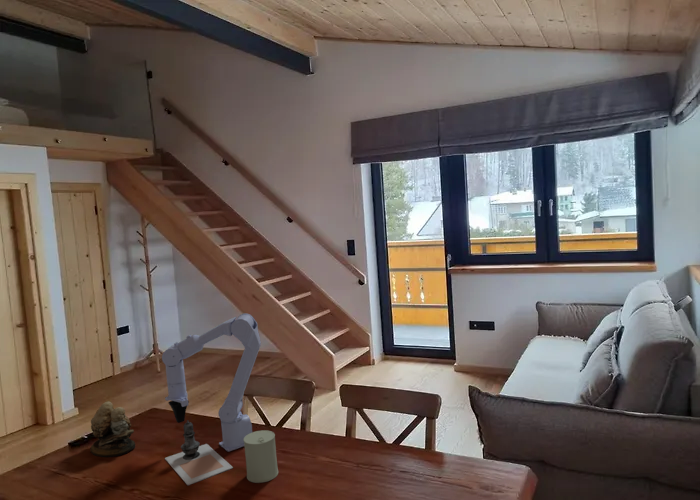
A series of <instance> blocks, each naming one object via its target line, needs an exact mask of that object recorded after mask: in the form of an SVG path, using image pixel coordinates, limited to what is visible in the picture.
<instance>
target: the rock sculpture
mask: <svg viewBox="0 0 700 500" xmlns="http://www.w3.org/2000/svg"><path fill="white" fill-rule="evenodd" d="M90 423H91V424H90V429H91V431H92V434H93V436H94V437H95V438H97V440H96V441H94V442H93V443H92V445H91V446H90V447H89V450H90V453H91V455H94V456H96V457H101V458H114V457H120V456H122V455H126V454H127V453H129V452H131V451H132V450H134V449H136V442H135V440H132V439H131V438H130V437H131V436H132V434H133V433H135V430H134V429H131V427H132V424H131V420H130V418H129V417H128V416H127V415H126V409H125V408H124V407H122V406H119V407H116V408H114V403H112V401H105V402H104V403H102V404H101V405H100V407H98V409H97V410H96V412H95V414H94V416H93V417H92V418H91V419H90Z"/></svg>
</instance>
